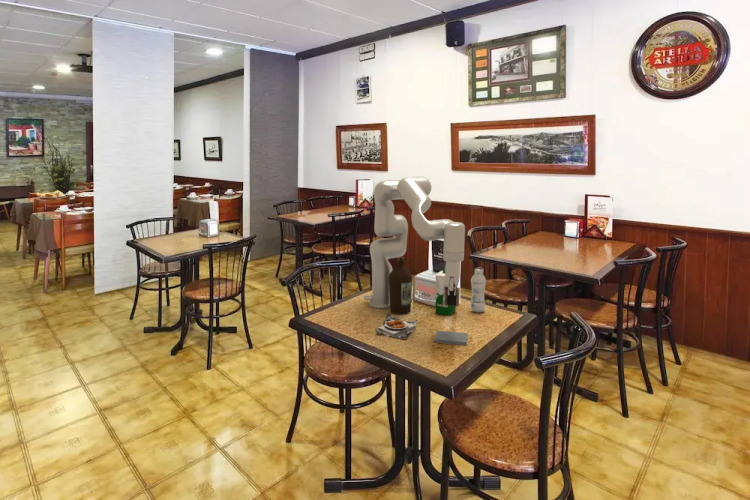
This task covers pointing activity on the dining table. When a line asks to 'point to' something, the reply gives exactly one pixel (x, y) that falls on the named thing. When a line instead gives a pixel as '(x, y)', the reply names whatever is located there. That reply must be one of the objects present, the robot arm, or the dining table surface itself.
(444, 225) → the robot arm
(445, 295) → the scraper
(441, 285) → the milk carton
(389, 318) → the meal
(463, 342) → the slate board
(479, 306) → the plastic bottle
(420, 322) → the dining table surface
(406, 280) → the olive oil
